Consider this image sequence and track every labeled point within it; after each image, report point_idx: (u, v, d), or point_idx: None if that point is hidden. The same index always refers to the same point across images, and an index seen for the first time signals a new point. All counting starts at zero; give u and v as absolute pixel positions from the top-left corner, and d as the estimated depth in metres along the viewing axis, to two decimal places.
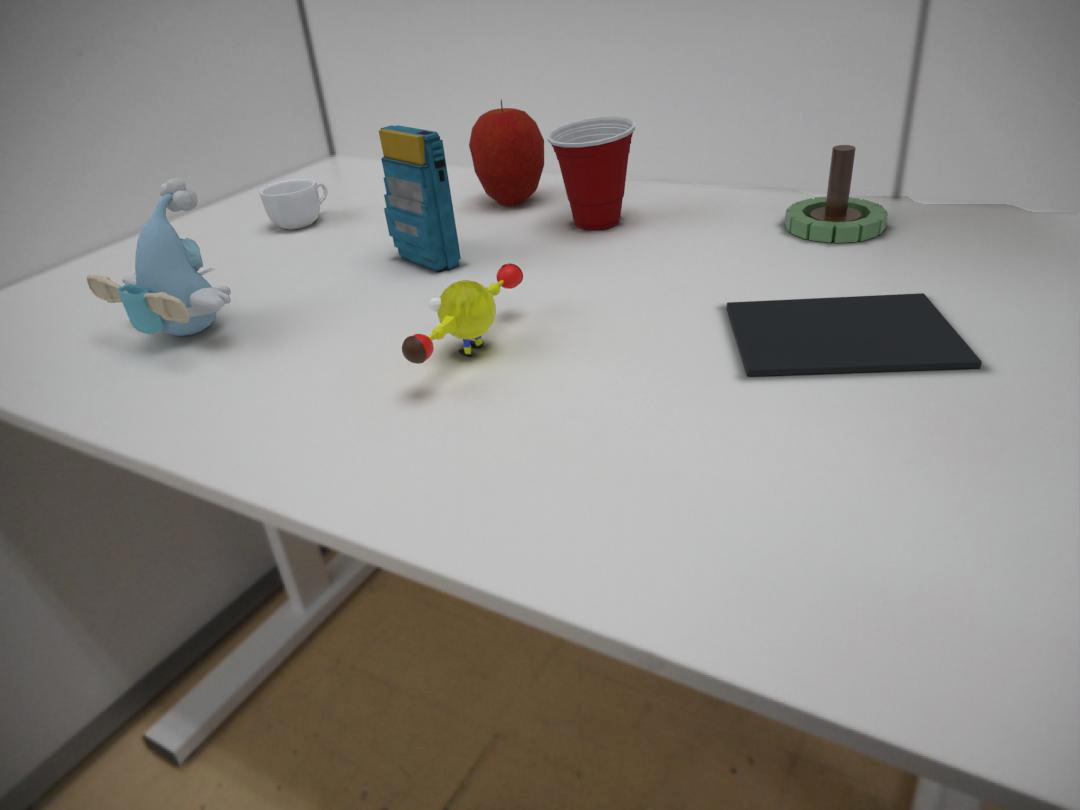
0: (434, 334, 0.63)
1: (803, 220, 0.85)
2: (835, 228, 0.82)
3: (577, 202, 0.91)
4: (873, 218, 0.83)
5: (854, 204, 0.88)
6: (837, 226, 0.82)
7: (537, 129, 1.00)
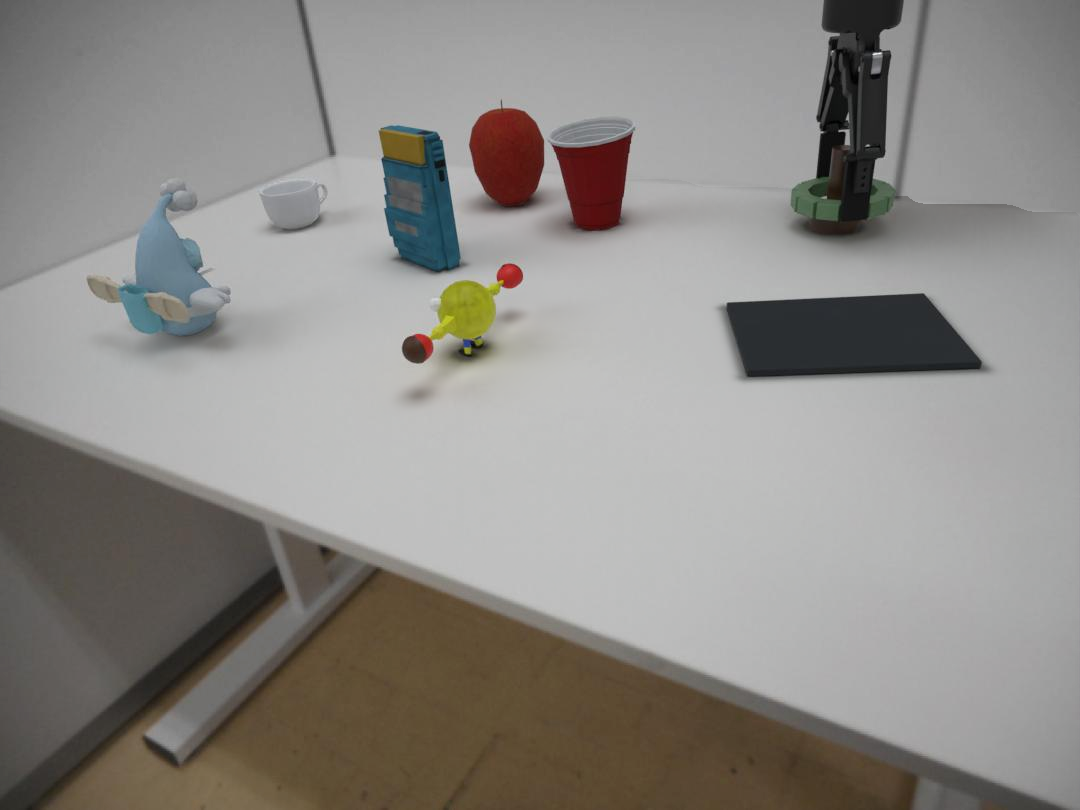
0: (434, 334, 0.63)
1: (809, 199, 0.83)
2: None
3: (577, 202, 0.91)
4: (880, 196, 0.82)
5: None
6: None
7: (537, 129, 1.00)
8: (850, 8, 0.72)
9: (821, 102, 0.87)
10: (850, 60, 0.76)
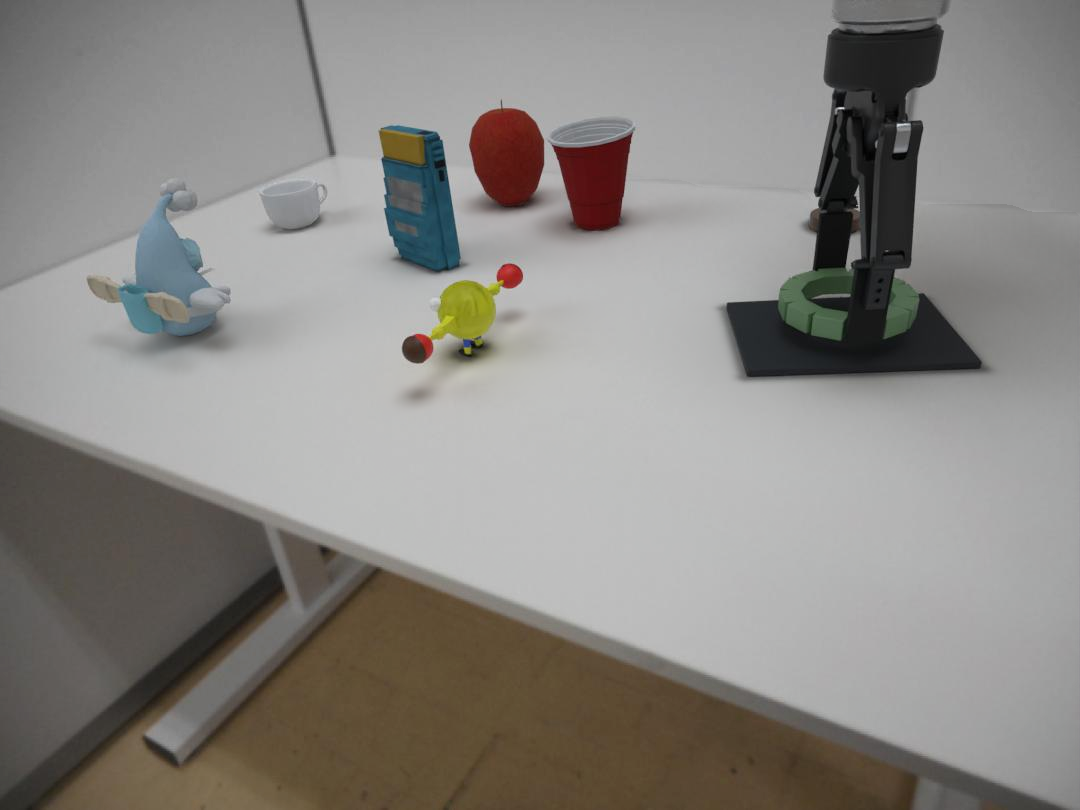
0: (434, 334, 0.63)
1: (803, 307, 0.61)
2: None
3: (577, 202, 0.91)
4: (899, 307, 0.60)
5: None
6: None
7: (537, 129, 1.00)
8: (865, 58, 0.51)
9: (821, 172, 0.65)
10: (863, 128, 0.54)
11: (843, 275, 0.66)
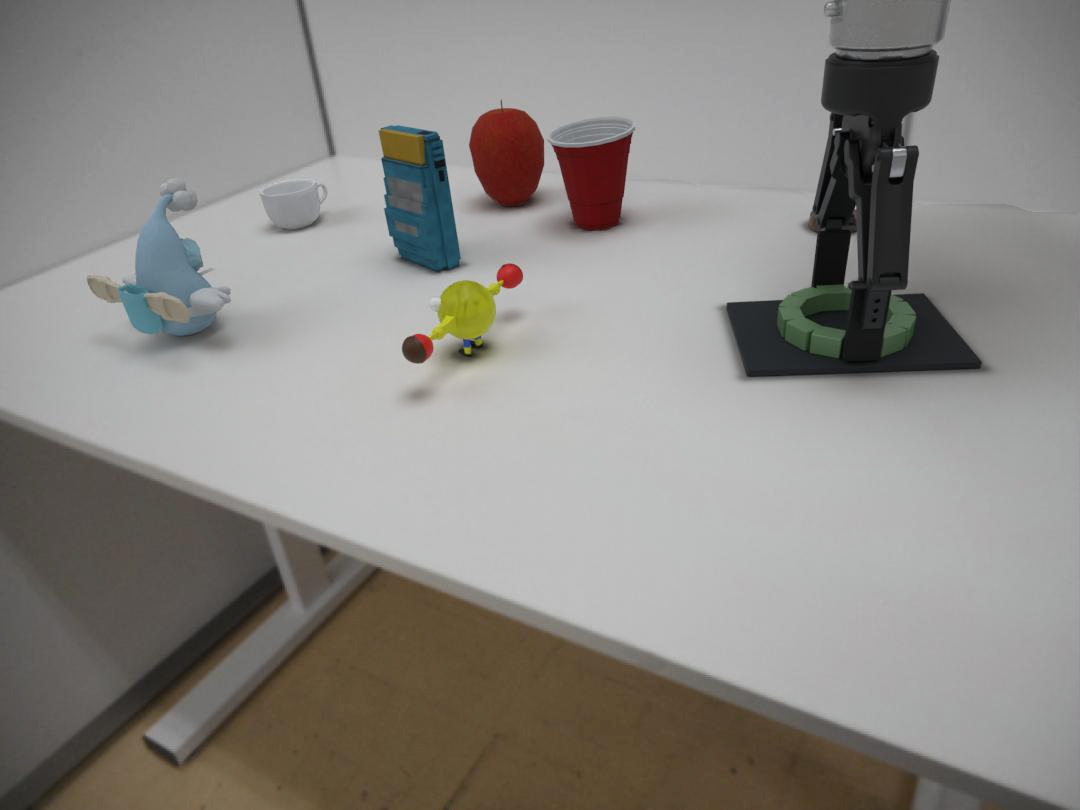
0: (434, 334, 0.63)
1: (801, 325, 0.62)
2: None
3: (577, 202, 0.91)
4: (896, 325, 0.61)
5: None
6: None
7: (537, 129, 1.00)
8: (861, 84, 0.51)
9: (819, 191, 0.66)
10: (860, 151, 0.55)
11: (841, 292, 0.67)
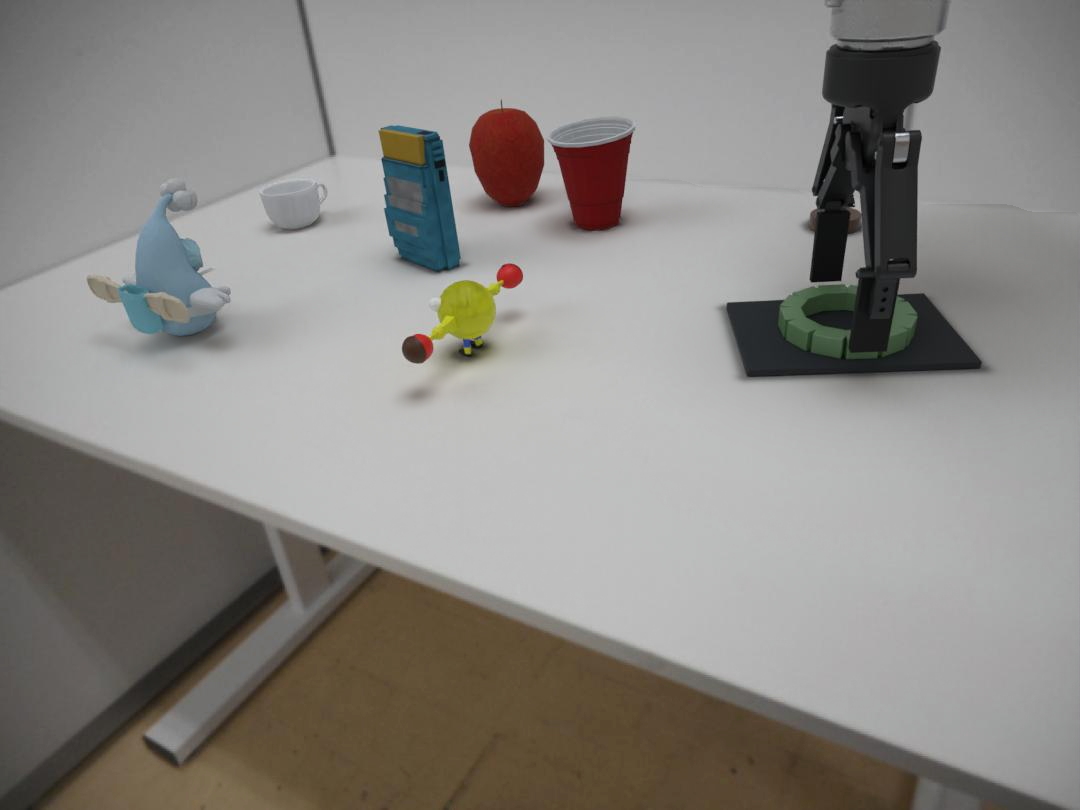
0: (434, 334, 0.63)
1: (803, 325, 0.62)
2: (846, 340, 0.60)
3: (577, 202, 0.91)
4: (898, 325, 0.61)
5: None
6: (849, 337, 0.60)
7: (537, 129, 1.00)
8: (863, 75, 0.51)
9: (819, 174, 0.66)
10: (861, 141, 0.54)
11: (842, 292, 0.67)
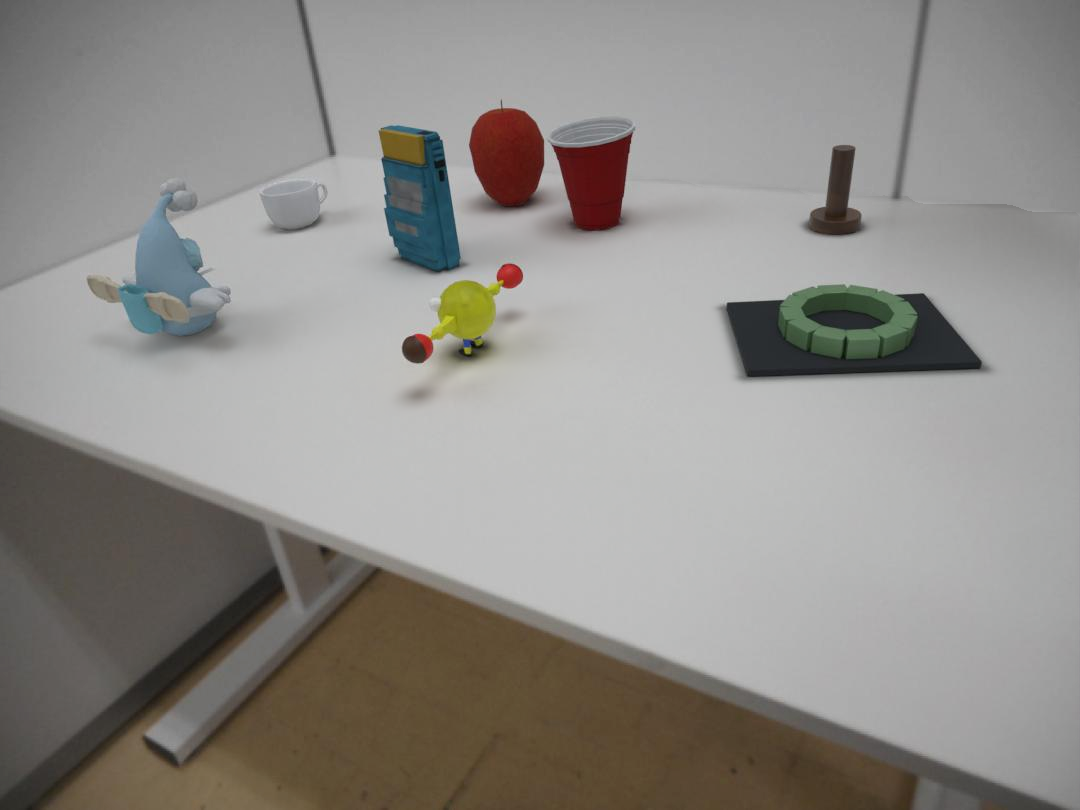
0: (434, 334, 0.63)
1: (803, 325, 0.62)
2: (846, 340, 0.60)
3: (577, 202, 0.91)
4: (898, 325, 0.61)
5: (871, 298, 0.66)
6: (849, 337, 0.60)
7: (537, 129, 1.00)
8: None
9: None
10: None
11: (842, 292, 0.67)
